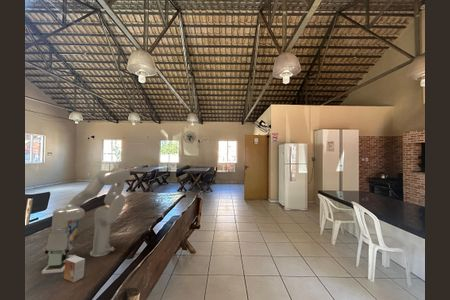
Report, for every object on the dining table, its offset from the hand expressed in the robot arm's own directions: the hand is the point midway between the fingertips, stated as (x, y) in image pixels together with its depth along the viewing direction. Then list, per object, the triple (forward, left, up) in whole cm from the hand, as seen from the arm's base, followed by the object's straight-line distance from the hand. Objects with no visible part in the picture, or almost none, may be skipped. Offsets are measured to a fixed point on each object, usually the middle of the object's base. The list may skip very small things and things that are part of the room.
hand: (56, 260), depth 122 cm
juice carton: (+18, -39, -5) cm, 44 cm away
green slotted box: (0, 0, -1) cm, 1 cm away
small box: (-15, +10, -5) cm, 19 cm away
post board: (+1, -4, -5) cm, 6 cm away
